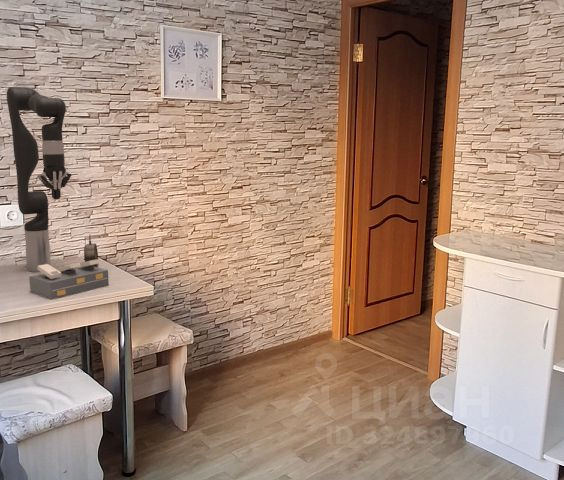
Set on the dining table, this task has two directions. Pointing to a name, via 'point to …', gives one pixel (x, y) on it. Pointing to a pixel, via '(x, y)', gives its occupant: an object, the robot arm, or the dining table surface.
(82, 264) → the rocker
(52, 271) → the rocker
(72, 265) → the rocker
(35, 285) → the switch unit
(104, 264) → the dining table surface
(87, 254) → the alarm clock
